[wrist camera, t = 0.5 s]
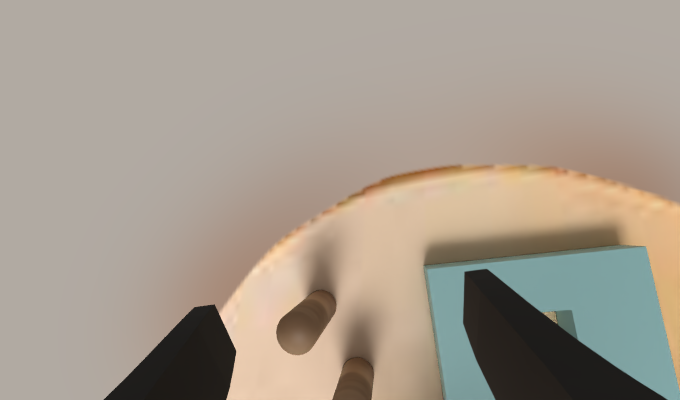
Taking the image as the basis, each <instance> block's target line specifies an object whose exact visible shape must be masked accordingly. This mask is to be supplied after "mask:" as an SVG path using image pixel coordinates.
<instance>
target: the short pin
mask: <svg viewBox="0 0 680 400" xmlns="http://www.w3.org/2000/svg"><path fill="white" fill-rule="evenodd" d="M373 379H374V372H373V368H372V366H371V365H370V363H369V362H368V361H366V360H365V359H363V358H359V357H355V358H351V359H349V360H348V361H347V362H346V363H345V365H344V367H343V370H342V373H341V376H340V379H339V382H338V385H337V388H336V390H335V393H334V396H333V399H332V400H371V398H372V389H373Z"/></svg>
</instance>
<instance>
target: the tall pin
mask: <svg viewBox="0 0 680 400" xmlns="http://www.w3.org/2000/svg"><path fill="white" fill-rule="evenodd" d="M335 311H336V301H335V299H334V297H333V296H332V295H331V294H330V293H329V292H327V291H324V290H318V291H315V292H313V293H312V294H311V295H309V296H308V297H307V298H306V299H304V300H303V301H302V302H301V303H300V304H298V305H297V306H296V307H295V308H293V309H292V310H291V311H290V312H288V313H287V314H286V315H285V316H284V317H283V318H282V319H281V320H280V321H279V323H278V326H277V331H276V334H277V340H278V342H279V344H280V346H281V347H282V348H283V349H284V350H285V351H286V352H288V353H290V354H293V355H302V354H305V353H307V352H308V351H309V350H311V348H312V347H313V346H314V344H315V343H316V341H317V340H318V338H319V337H320V335H321V333H322V332H323V330H324V329H325V327H326V326H327V324H328V323H329V321H330V320H331V318H332V317H333V315H334V313H335Z"/></svg>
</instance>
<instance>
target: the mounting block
mask: <svg viewBox="0 0 680 400" xmlns="http://www.w3.org/2000/svg"><path fill="white" fill-rule="evenodd" d="M480 269H488V270H489V271H490V272H492V273H493V274H494V275H496V276H497V277H498V278H499V279H500V280H502V281H503V282H504V283H505V284H507V285H508V286H509V287H510V288H511V289H513V290H514V291H515V292H516V293H518V294H519V295H520V296H521V297H523V298H524V299H525V300H526V301H528V302H529V303H530V304H531V305H533V306H534V307H535V308H536V309H538V310H539V311H540V312H550V311H556V316H557V322H558V325H559V326H560V327H561V328H563V329H564V330H565V331H567V332H568V333H569V334H571V335H572V336H573V337H575V338H576V339H577V340H579V341H580V342H582V343H583V344H584V345H586V346H587V347H589V348H590V349H591V350H593V351H594V352H596V353H597V354H599V355H600V356H602V357H603V358H604V359H606V360H607V361H609V362H610V363H612V364H613V365H614V366H616V367H617V368H619V369H620V370H622V371H623V372H625V373H627V374H628V375H630V376H631V377H633V378H634V379H636V380H637V381H639V382H640V383H642V384H644V385H645V386H647V387H648V388H650V389H652V390H653V391H655V392H656V393H658V394H660V395H661V396H663V397H664V398H666V399H668V400H680V391H679V387H678V382H677V378H676V374H675V369H674V365H673V361H672V357H671V352H670V348H669V344H668V339H667V335H666V331H665V326H664V322H663V318H662V314H661V309H660V305H659V301H658V296H657V292H656V288H655V283H654V279H653V275H652V271H651V266H650V262H649V258H648V253H647V249H646V247H645V246H629V245H615V246H605V247H596V248H586V249H577V250H567V251H558V252H548V253H539V254H529V255H520V256H510V257H501V258H491V259H482V260H472V261H463V262H453V263H444V264H434V265H425V266H424V273H425V279H426V286H427V293H428V299H429V306H430V313H431V319H432V326H433V333H434V339H435V346H436V353H437V359H438V366H439V373H440V379H441V386H442V393H443V399H444V400H495V398H494V396H493V394H492V392H491V390H490V388H489V386H488V384H487V381H486V379H485V377H484V375H483V373H482V371H481V369H480V367H479V365H478V363H477V361H476V358H475V356H474V353H473V350H472V347H471V345H470V342H469V339H468V336H467V333H466V331H465V328H464V325H463V305H464V272H465V271H473V270H480Z"/></svg>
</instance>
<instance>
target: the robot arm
mask: <svg viewBox="0 0 680 400" xmlns="http://www.w3.org/2000/svg"><path fill="white" fill-rule="evenodd" d="M463 325H464V328H465V331H466V333H467V336H468V339H469V342H470V345H471V347H472V350H473V353H474V356H475V358H476V361H477V363H478V365H479V367H480V369H481V371H482V373H483V375H484V377H485V379H486V381H487V384H488V386H489V388H490V390H491V392H492V394H493V396H494V398H495V400H668V399H666V398H664V397H663V396H661V395H660V394H658V393H656V392H655V391H653V390H652V389H650V388H648V387H647V386H645V385H644V384H642V383H640V382H639V381H637V380H636V379H634V378H633V377H631V376H630V375H628V374H627V373H625V372H623V371H622V370H620V369H619V368H617V367H616V366H614V365H613V364H612V363H610V362H609V361H607V360H606V359H604V358H603V357H602V356H600V355H599V354H597V353H596V352H594V351H593V350H591V349H590V348H589V347H587V346H586V345H584V344H583V343H582V342H580V341H579V340H577V339H576V338H575V337H573V336H572V335H571V334H569V333H568V332H567V331H565V330H564V329H563V328H561V327H560V326H559V325H557V324H556V323H555V322H553V321H552V320H551V319H549V318H548V317H547V316H545V315H544V314H543V313H542V312H540V311H539V310H538V309H536V308H535V307H534V306H533V305H531V304H530V303H529V302H528V301H526V300H525V299H524V298H523V297H521V296H520V295H519V294H518V293H516V292H515V291H514V290H513V289H511V288H510V287H509V286H508V285H507V284H505V283H504V282H503V281H502V280H500V279H499V278H498V277H497V276H496V275H494V274H493V273H492V272H490V271H489V270H488V269H480V270H473V271H465V272H464V305H463ZM235 356H236V350H235V347H234V345H233V343H232V341H231V339H230V337H229V334H228V332H227V330H226V328H225V326H224V324H223V321H222V319H221V317H220V315H219V313H218V311H217V309H216V307H215V305H208V306H200V307H194V308H193V309H192V310H191V311H190V312H189V313H188V314H187V315H186V316H185V317H184V318H183V319H182V320H181V321H180V322H179V323H178V324H177V325H176V326H175V328H174V329H173V330H172V331H171V332H170V333H169V334H168V335H167V336H166V337H165V338H164V339H163V340H162V341H161V342H160V343H159V344H158V345H157V346H156V347H155V348H154V350H153V351H152V352H151V353H150V354H149V355H148V356H147V357H146V358H145V359H144V360H143V361H142V362H141V363H140V364H139V365H138V366H137V367H136V368H135V369H134V370H133V371H132V372H131V373H130V374H129V375H128V376H127V377H126V378H125V379H124V380H123V381H122V382H121V383H120V384H119V385H118V386H117V387H116V388H115V389H114V390H113V391H112V392H111V393H110V394H109V395H108V396H107V397H106V398H105V399H104V400H226V398H227V395H228V392H229V388H230V383H231V378H232V373H233V368H234V362H235Z"/></svg>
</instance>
